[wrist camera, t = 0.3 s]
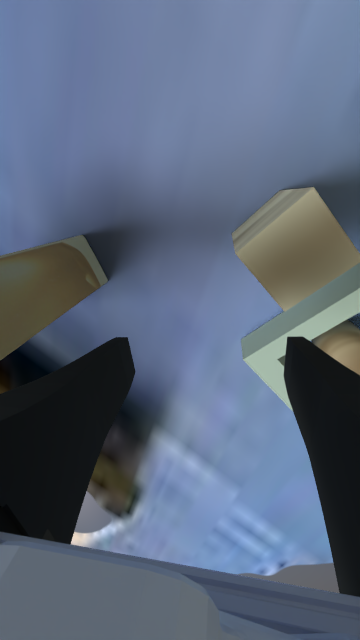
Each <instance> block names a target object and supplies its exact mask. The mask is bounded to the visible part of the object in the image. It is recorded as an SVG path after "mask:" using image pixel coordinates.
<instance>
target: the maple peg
mask: <svg viewBox="0 0 360 640" xmlns="http://www.w3.org/2000/svg"><path fill="white" fill-rule="evenodd" d="M232 238H233V243H234V249H235V254H236V255H237V256H238V257H239V258H240V260H241V261H242V262H243V263H244V264H245V266H246V267H247V268H248V269H249V270H250V271H251V273H252V274H253V275H254V276H255V277H256V279H257V280H258V281H259V282H260V283H261V284H262V286H263V287H264V288H265V289H266V290H267V292H268V293H269V294H270V295H271V296H272V297H273V299H274V300H275V301H276V302H277V303H278V305H279V306H280V307H281V308H282V309H283V310H284V312H285V311H287V310H288V309H290V308H291V307H293V306H294V305H296V304H297V303H299V302H301V301H302V300H304V299H305V298H307V297H308V296H310V295H311V294H313V293H314V292H316V291H317V290H319V289H320V288H322V287H323V286H325V285H326V284H328V283H329V282H331V281H333V280H334V279H336V278H337V277H339V276H340V275H342V274H343V273H345V272H346V271H348V270H349V269H351V268H352V267H354V266H355V265H357V264H358V263H360V253H359V252H358V250H357V249H356V248H355V246H354V245H353V243H352V242H351V240H350V239H349V237H348V236H347V235H346V233H345V232H344V230H343V229H342V227H341V226H340V224H339V223H338V222H337V220H336V219H335V217H334V216H333V214H332V213H331V211H330V210H329V209H328V207H327V206H326V204H325V203H324V201H323V200H322V198H321V197H320V196H319V194H318V193H317V191H316V190H315V188H314V187H310V188H300V189H290V190H280V191H279V192H278V193H276V194H275V195H274V196H273V197H272V198H271V199H270V200H269V201H267V202H266V203H265V204H264V205H263V206H262V207H261V208H260V209H259V210H257V211H256V212H255V213H254V214H253V215H252V216H251V217H250V218H249V219H247V220H246V221H245V222H244V223H243V224H242V225H241V226H240V227H239V228H237V229H236V230H235V231H234V232H233V233H232Z"/></svg>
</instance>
